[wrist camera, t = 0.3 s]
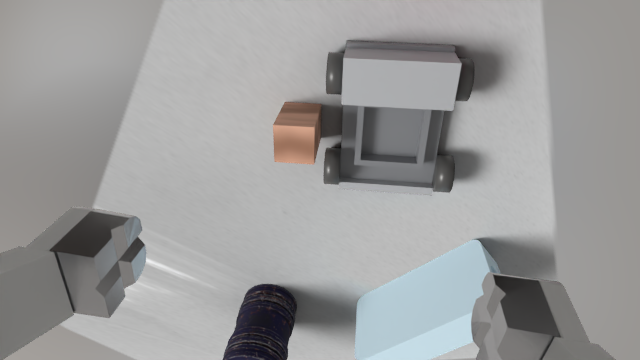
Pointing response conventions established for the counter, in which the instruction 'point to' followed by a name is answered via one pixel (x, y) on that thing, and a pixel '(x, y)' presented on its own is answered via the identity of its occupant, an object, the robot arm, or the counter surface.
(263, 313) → the storage jar
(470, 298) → the light blue box
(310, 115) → the brown rectangular block
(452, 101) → the chassis
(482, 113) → the counter surface
